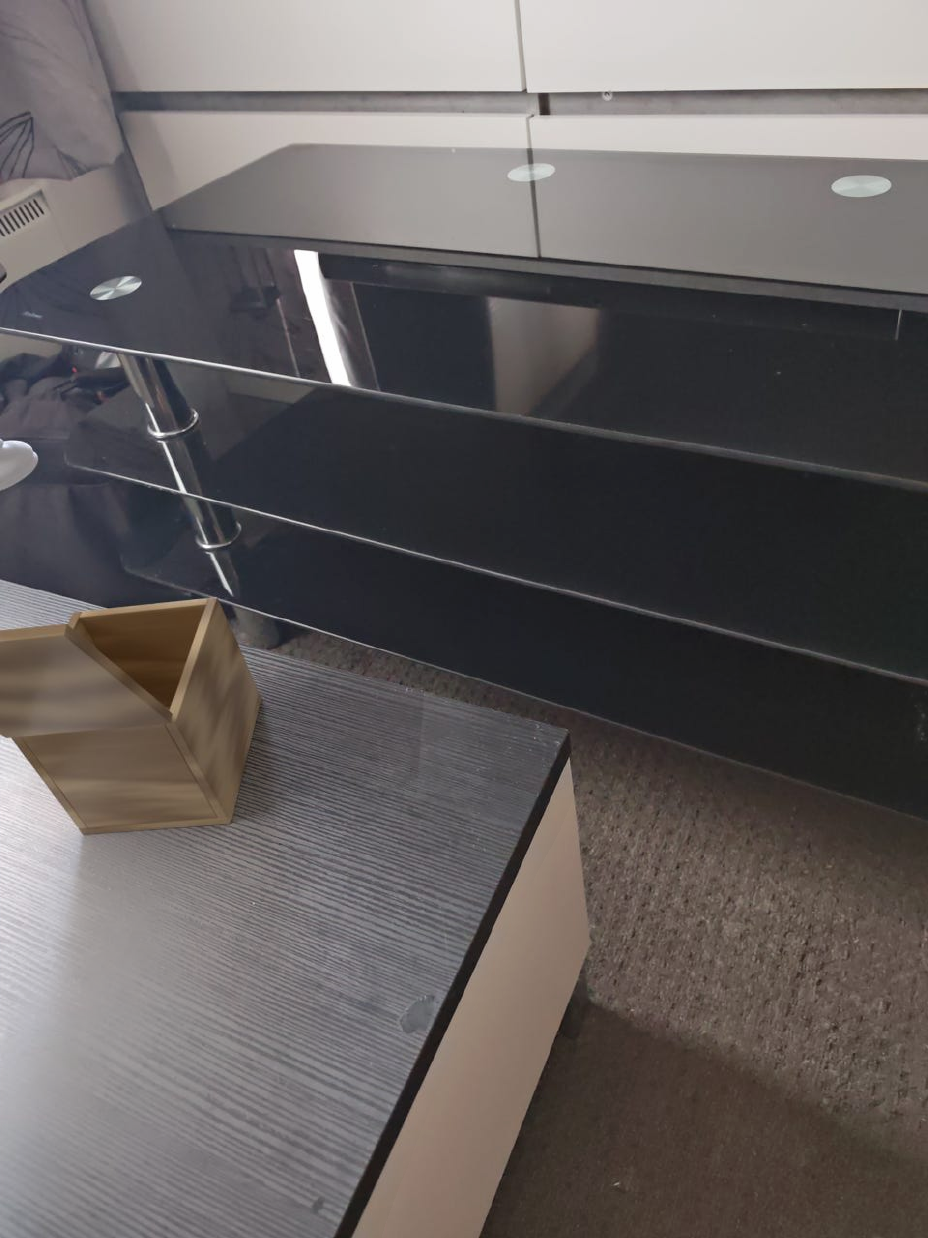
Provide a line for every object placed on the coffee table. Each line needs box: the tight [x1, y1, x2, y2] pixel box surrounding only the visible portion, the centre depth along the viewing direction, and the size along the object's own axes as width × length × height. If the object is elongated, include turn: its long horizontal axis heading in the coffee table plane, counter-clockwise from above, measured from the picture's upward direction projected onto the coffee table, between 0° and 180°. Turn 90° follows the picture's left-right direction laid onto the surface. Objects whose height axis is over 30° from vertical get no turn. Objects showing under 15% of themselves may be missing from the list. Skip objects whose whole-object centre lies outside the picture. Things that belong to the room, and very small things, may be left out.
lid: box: [0, 623, 173, 739], centre depth 59 cm, size 14×13×1 cm
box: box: [11, 596, 263, 835], centre depth 75 cm, size 14×13×12 cm
